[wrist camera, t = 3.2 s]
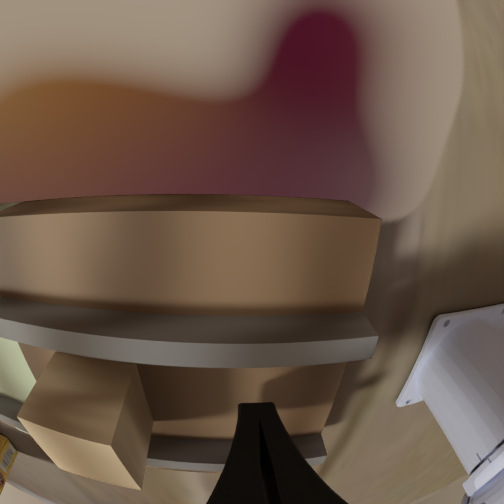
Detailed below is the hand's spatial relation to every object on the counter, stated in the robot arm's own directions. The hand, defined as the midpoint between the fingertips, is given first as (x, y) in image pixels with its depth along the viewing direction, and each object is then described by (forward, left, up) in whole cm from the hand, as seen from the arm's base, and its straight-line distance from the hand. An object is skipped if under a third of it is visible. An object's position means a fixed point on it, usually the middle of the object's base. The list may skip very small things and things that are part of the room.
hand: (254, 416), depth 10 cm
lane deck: (+12, 0, -4) cm, 13 cm away
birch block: (+7, 0, -1) cm, 7 cm away
